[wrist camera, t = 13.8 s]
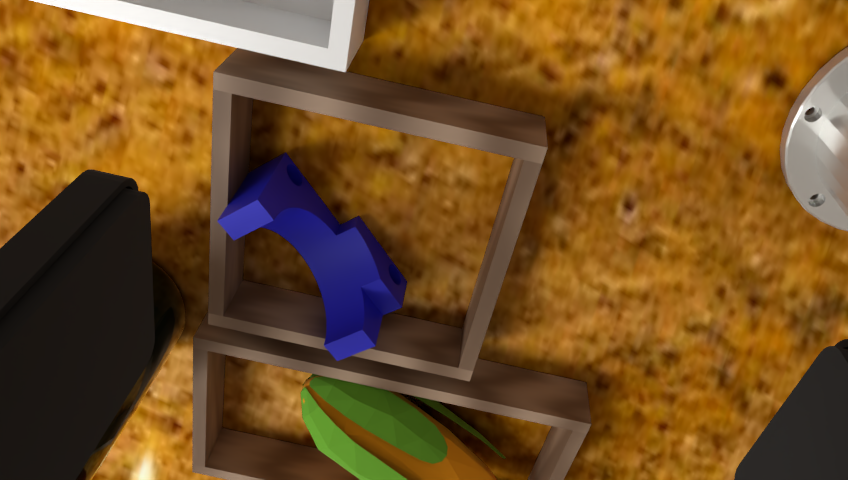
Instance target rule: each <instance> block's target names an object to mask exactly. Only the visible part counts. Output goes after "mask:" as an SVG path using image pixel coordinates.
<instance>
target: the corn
mask: <svg viewBox="0 0 848 480" xmlns="http://www.w3.org/2000/svg"><path fill="white" fill-rule="evenodd" d="M414 397H416V398H417V399H419V400H420V401H422V402H424V403H425V404H427V405H429V406H430V407H432V408H433V409H435V410H437V411H438V412H440V413H442V414H443V415H445V416H446V417H448V418H450V419H451V420H453V421H454V422H455V423H457V424H458V425H460V426H461V427H463V428H464V429H466V430H467V431H469V432H470V433H472V434H473V435H474V436H476V437H477V438H479V439H480V440H482V441H483V442H484V443H485V444H486V445H488V446H489V447H490V448H491V449H492V450H493V451H495V452H496V453H497V454H498V455H499V456H501V457H502V458H504V459H506V458H505V456H504V455H503V454H501V453H500V452H499V451H498V450H497V449H496V448H495V447H494V446H493V445H492V444H491V443H490V442H489V441H488V440H487V439H486V438H484V437H483V436H482V435H481V434H480V433H479V432H478V431H476V430H475V429H474V428H472V427H471V426H470V425H468V424H467V423H466V422H464V421H463V420H462V419H460V418H459V417H458V416H456V415H455V414H454V413H452V412H451V411H450V410H448V409H447V408H446V407H444V406H443V405H442V404H440V403H439V402H438V401H435V400H430V399H426V398H421V397H417V396H414ZM301 404H302V416H303V420H304V422H305V424H306V426H307V428H308V430H309V432H310V434H311V436H312V438H313V440H314V442H315V444H316V446H317V448H318V450H319V451H321V452H322V453H324V454H325V455H326V456H328V457H329V458H331V459H332V460H333V461H335V462H336V463H338V464H339V465H340V466H342V467H343V468H344V469H346V470H347V471H349V472H350V473H351V474H353V475H354V476H356V477H357V478H358V479H360V480H497V478H496V477H495V476H494V475H493V473H492V472H491V471H490V469H489V468H488V467H487V466H486V465H485V464H484V463H483V462H482V461H481V460H480V459H479V458H478V457H477V456H476V455H475V454H474V453H473V452H472V451H471V450H470V449H469V448H468V447H467V446H466V445H465V444H463V443H462V442H461V441H460V440H459V439H458V438H457V437H456V436H455V435H454V434H453V433H452V432H451V431H450V430H449V429H448V428H446V427H445V426H444V425H442V424H441V423H440V422H438V421H437V420H435V419H434V418H433V417H431V416H430V415H429V414H427V413H426V412H424V411H423V410H422V409H420V408H419V407H418V406H416V405H415V404H414V403H412V402H411V401H409V400H408V399H407V398H405V397H404V396H403V395H401V394H400V393H398V392H394V391H389V390H385V389H380V388H376V387H371V386H366V385H362V384H357V383H353V382H348V381H344V380H339V379H334V378H330V377H325V376H321V375H316V374H312V375H311V377H309V378H308V379H307V380H306V381H305V383H304V384H303V389H302V391H301Z"/></svg>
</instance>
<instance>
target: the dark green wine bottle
mask: <svg viewBox="0 0 848 480" xmlns="http://www.w3.org/2000/svg"><path fill="white" fill-rule="evenodd" d="M152 274H153V300H154V327H155V343H154V348H153V352H152V355H151V357H150V360H149V362H148V364H147V366H146V367H145V369H144V371H143V372H142V374H141V375H140V377H139V379H138V380H137V382H136V383H135V385H134V387H133V388H132V390H131V392H130V393H129V395H128V396H127V398H126V400H125V401H124V403H123V404H122V406H121V408H120V409H119V411H118V412H117V414H116V416H115V417H114V419H113V421H112V422H111V424H110V425H109V427H108V429H107V430H106V432H105V433H104V435H103V437H102V438H101V440H100V442H99V443H98V445H97V446H96V448H95V450H94V451H93V453H92V454H91V456H90V458H89V459H88V461H87V462H86V464H85V466H84V467H83V469H82V471H81V472H80V474H79V475H78V477H77V479H76V480H92V478H93V477H94V475H95V474H96V472H97V471H98V469H99V468H100V466H101V465H102V463H103V462H104V460H105V458H106V457H107V455H108V454H109V452H110V450H111V449H112V447H113V446H114V444H115V442H116V441H117V439H118V438H119V436H120V435H121V433H122V431H123V430H124V428H125V427H126V425H127V423H128V422H129V420H130V419H131V417H132V415H133V414H134V412H135V411H136V409H137V407H138V406H139V404H140V403H141V401H142V399H143V398H144V396H145V395H146V393H147V391H148V390H149V388H150V387H151V385H152V383H153V382H154V380H155V379H156V377H157V375H158V374H159V372H160V370H161V369H162V367H163V365H164V364H165V362H166V360H167V359H168V357H169V355H170V354H171V352H172V351H173V349H174V347H175V345H176V343H177V341H178V339H179V338H180V336H181V333H182V331H183V329H184V326H185V318H186V315H185V308H184V302H183V299H182V296H181V294H180V291H179V290H178V288H177V287H176V285H175V283H174V282H173V280H172V279H171V278H170V277H169V276H168V275H167V274H166V272H165V271H164V270H162V269H161V268H160V267H159V266H158V265H157V264H155V263H154V262H153V261H152Z"/></svg>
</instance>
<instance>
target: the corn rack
mask: <svg viewBox="0 0 848 480" xmlns="http://www.w3.org/2000/svg"><path fill="white" fill-rule="evenodd" d="M225 355H229V356H234V357H238V358H243V359H247V360H252V361H257V362H261V363H266V364H270V365H275V366H279V367H284V368H289V369H293V370H298V371H302V372H307V373H312V374H316V375H321V376H325V377H330V378H334V379H339V380H344V381H348V382H353V383H357V384H362V385H366V386H371V387H376V388H380V389H385V390H389V391H394V392H398V393H403V394H408V395H412V396H417V397H421V398H426V399H430V400H435V401H440V402H444V403H449V404H453V405H458V406H462V407H467V408H472V409H476V410H481V411H485V412H490V413H494V414H499V415H504V416H508V417H513V418H517V419H522V420H526V421H531V422H536V423H540V424H545V425H549V426H552V427H551V430H550V432H549V434H548V436H547V438H546V440H545V443H544V445H543V447H542V449H541V451H540V454H539V456H538V458H537V460H536V462H535V465H534V467H533V469H532V471H531V473H530V476H529V478H528V480H564V478H565V476H566V474H567V472H568V470H569V468H570V466H571V464H572V462H573V460H574V458H575V456H576V454H577V452H578V450H579V448H580V446H581V444H582V442H583V440H584V438H585V436H586V434H587V432H588V430H589V428H590V426H591V416H590V408H589V399H588V391H587V383H586V382H582V381H578V380H573V379H569V378H564V377H560V376H555V375H550V374H546V373H541V372H537V371H532V370H528V369H523V368H519V367H514V366H510V365H505V364H501V363H496V362H491V361H487V360H482V359H478V358H477V361H476V364H475V367H474V370H473V373H472V376H471V379H470V382H469V381H465V380H460V379H456V378H451V377H446V376H442V375H437V374H433V373H428V372H424V371H419V370H415V369H410V368H405V367H401V366H396V365H392V364H387V363H383V362H378V361H374V360H369V359H364V358H360V357H355V356H349V357H347V358H344V359H342V360H339V361H337V360H336V359H335V358H334V357H333V356H332V355H331V353H330V352H329V351H328V350H323V349H319V348H314V347H310V346H305V345H301V344H296V343H292V342H287V341H282V340H278V339H273V338H269V337H264V336H260V335H255V334H251V333H246V332H241V331H237V330H232V329H228V328H223V327H219V326H214V325H210V324H208V312H207V314H206V316H205V317H204V319H203V321H202V323H201V324H200V326H199V328H198V330H197V331H196V333H195V335H194V337H193V472H195V473H199V474H204V475H209V476H213V477H218V478H223V479H227V480H360V479H358V478H357V477H356V476H354V475H353V474H351V473H350V472H349V471H347V470H346V469H344V468H343V467H342V466H340V465H339V464H338V463H336V462H335V461H333V460H332V459H331V458H329V457H328V456H326V455H325V454H324V453H322V452H321V451H319V450H318V448H313V447H308V446H304V445H299V444H294V443H290V442H285V441H281V440H276V439H271V438H267V437H262V436H257V435H253V434H248V433H244V432H239V431H234V430H230V429H225V428H222V423H223V400H224V376H225Z"/></svg>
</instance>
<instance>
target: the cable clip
mask: <svg viewBox="0 0 848 480" xmlns="http://www.w3.org/2000/svg"><path fill="white" fill-rule="evenodd" d="M217 221H218V223H219V224H220V225H221V226H222V227H223V228H224V230H225V231H226V232H227V233H228V234H229V235H230V237H231V238H232V239H233V240H236V239H238V238H240V237H242V236H244V235H246V234H248V233H250V232H252V231H254V230H256V229H258V228H260V227H262V228H266V229H269V230H272V231H274V232H276V233H278V234H279V235H281V236H282V237H284V238H285V239H286V240H287V241H288V242H290V243H291V244H292V245H293V246H294V247H295V248H296V250H297V251H298V252H299V253H300V254H301V256H302V257H303V258H304V260H305V261H306V263H307V264H308V266H309V268H310V269H311V271H312V273H313V275H314V277H315V279H316V281H317V284H318V286H319V289H320V292H321V295H322V298H323V302H324V306H325V312H326V324H327V329H326V338H325V343H324V346H325V348H326V349H327V350H328V351H329V352H330V353H331V355H332V356H333V357H334V358H335V359H336V360H337V361H339V360H342V359H344V358H347V357H349V356H352V355H354V354H357V353H359V352H362V351H364V350H367V349H370V348H372V347H375V346H376V342H377V338H378V334H379V330H380V326H381V321H382V317H383V315H385V314H387V313H390V312H392V311H395V310H397V309H400V308H402V305H403V300H404V295H405V290H406V285H407V281H406V279H405V278H404V277H403V275H402V274H401V272H400V271H399V270H398V268H397V267H396V266H395V264H394V263H393V262H392V260H391V259H390V257H389V256H388V255H387V253H386V252H385V251H384V249H383V248H382V247H381V245H380V244H379V242H378V241H377V240H376V238H375V237H374V236H373V234H372V233H371V232H370V230H369V229H368V228H367V226H366V225H365V223H364V222H363V221H362V219H361V218H360V217H359V216H357V217H355V218H353V219H351V220H349V221H347V222H345V223H343V224H341V225H340V224H339V222H338V221H337V220H336V218H335V217H334V216H333V214H332V213H331V212H330V210H329V209H328V208H327V206H326V205H325V204H324V202H323V201H322V200H321V198H320V197H319V196H318V194H317V193H316V192H315V190H314V189H313V188H312V186H311V185H310V184H309V183H308V181H307V180H306V179H305V177H304V176H303V175H302V173H301V172H300V171H299V169H298V168H297V167H296V165H295V164H294V163H293V161H292V160H291V159H290V157H289V156H288V155H287V153H284V154H282V155H280V156H278V157H276V158H275V159H273V160H271V161H269V162H267V163H265V164H264V165H262V166H260V167H258V168H256V169H254V170H253V171H251V172H249V173H248V175H247V176H246V178H245V179H244V181H243V182H242V184H241V186H240V187H239V189H238V190H237V192H236V193H235V195H234V196H233V198H232V199H231V201H230V202H229V204H228V205H227V207H226V208H225V210H224V211H223V213H222V214H221V216H220V217H219V219H218V220H217Z"/></svg>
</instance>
